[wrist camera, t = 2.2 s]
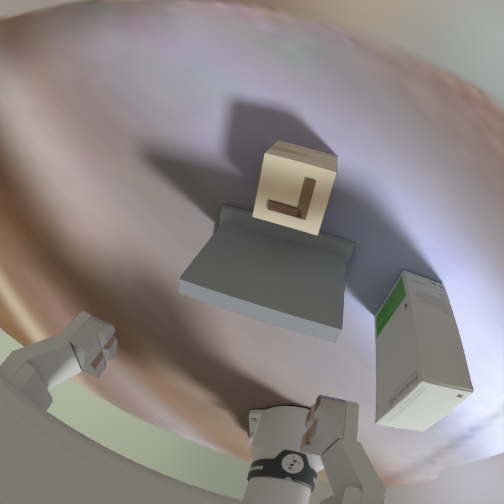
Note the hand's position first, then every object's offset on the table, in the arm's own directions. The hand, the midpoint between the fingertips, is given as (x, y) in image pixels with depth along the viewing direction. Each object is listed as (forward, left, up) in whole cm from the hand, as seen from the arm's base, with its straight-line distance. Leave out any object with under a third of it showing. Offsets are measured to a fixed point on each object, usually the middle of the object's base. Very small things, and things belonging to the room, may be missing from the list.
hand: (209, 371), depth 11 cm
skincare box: (-11, -17, -25) cm, 32 cm away
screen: (-8, 0, -24) cm, 26 cm away
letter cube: (0, 0, -24) cm, 24 cm away
